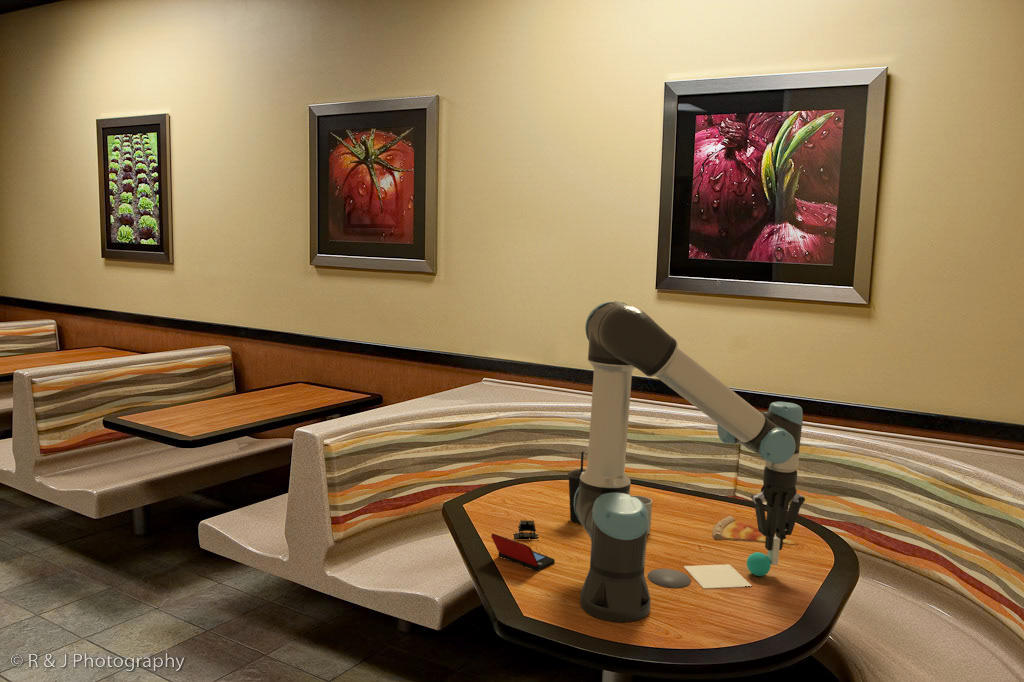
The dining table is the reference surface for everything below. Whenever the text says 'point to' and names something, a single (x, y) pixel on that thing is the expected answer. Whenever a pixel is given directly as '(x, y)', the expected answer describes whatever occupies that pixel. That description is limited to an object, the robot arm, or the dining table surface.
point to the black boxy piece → (526, 526)
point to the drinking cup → (574, 488)
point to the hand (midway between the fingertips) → (772, 562)
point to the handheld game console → (521, 553)
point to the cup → (649, 509)
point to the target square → (717, 576)
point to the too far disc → (669, 578)
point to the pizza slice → (738, 531)
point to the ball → (758, 564)
